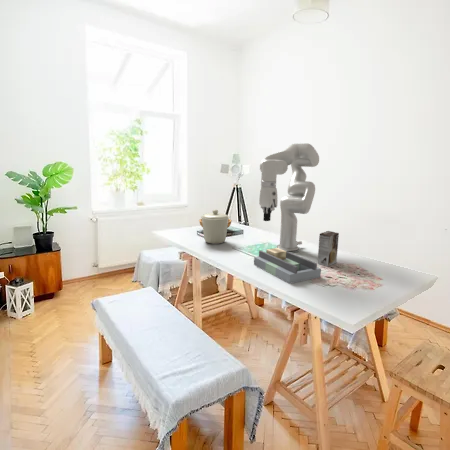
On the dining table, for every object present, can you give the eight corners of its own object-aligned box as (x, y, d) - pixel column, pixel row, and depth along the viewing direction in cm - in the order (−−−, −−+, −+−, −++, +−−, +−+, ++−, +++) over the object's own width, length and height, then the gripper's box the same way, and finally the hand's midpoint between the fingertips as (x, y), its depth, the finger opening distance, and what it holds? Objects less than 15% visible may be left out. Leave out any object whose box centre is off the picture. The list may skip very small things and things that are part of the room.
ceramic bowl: (240, 232, 235) (240, 221, 233) (212, 236, 221) (212, 225, 219) (217, 225, 258) (217, 215, 257) (191, 228, 244) (191, 218, 243)
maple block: (277, 255, 166) (277, 247, 165) (285, 259, 160) (286, 251, 159) (266, 257, 163) (266, 249, 162) (274, 260, 157) (274, 253, 156)
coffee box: (325, 260, 173) (327, 230, 170) (336, 262, 169) (339, 232, 166) (316, 263, 167) (319, 233, 164) (328, 266, 162) (330, 235, 159)
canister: (226, 246, 196) (227, 212, 192) (197, 244, 199) (197, 211, 195) (230, 239, 214) (231, 208, 210) (204, 237, 217) (204, 206, 213)
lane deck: (282, 260, 172) (283, 247, 170) (320, 277, 147) (321, 262, 146) (254, 264, 163) (254, 251, 162) (289, 283, 139) (290, 268, 138)
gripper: (283, 185, 157) (281, 222, 161) (266, 183, 170) (264, 217, 174) (271, 186, 154) (269, 223, 157) (254, 183, 167) (252, 218, 170)
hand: (266, 220), depth 166 cm, fingers closed
